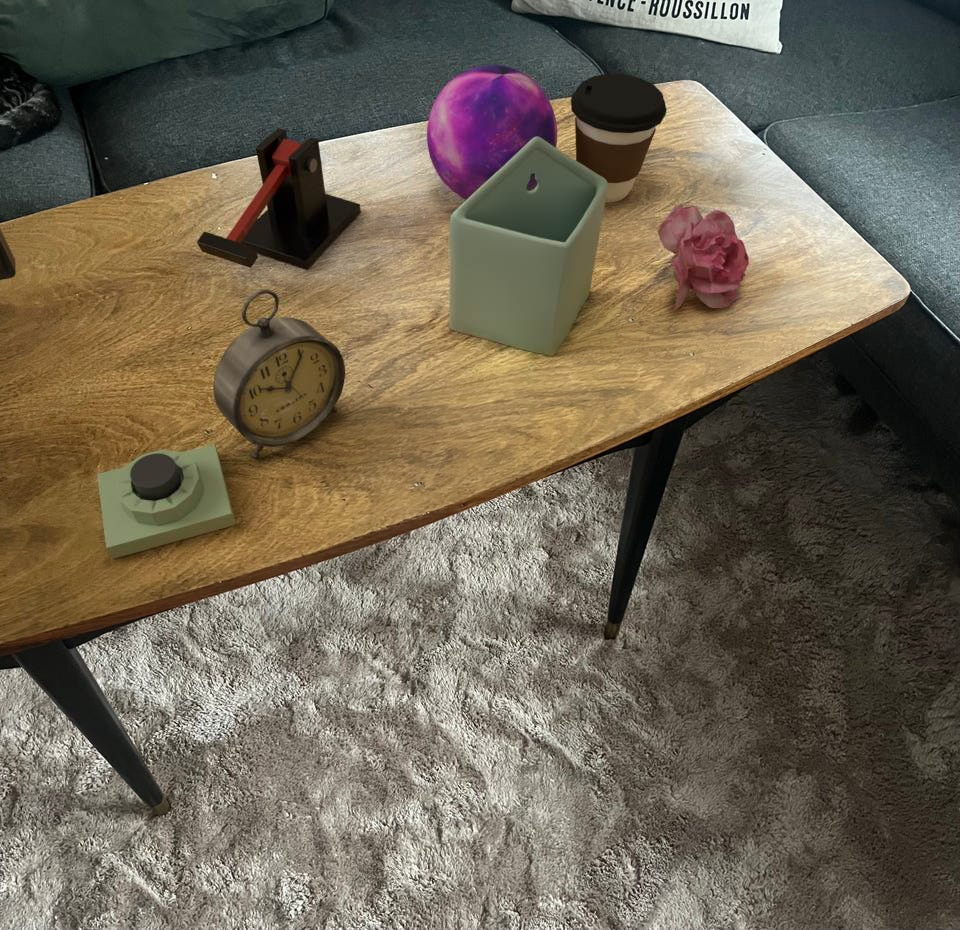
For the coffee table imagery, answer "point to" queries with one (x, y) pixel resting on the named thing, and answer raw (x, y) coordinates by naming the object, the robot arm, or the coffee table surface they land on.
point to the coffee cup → (616, 127)
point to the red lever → (250, 214)
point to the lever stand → (298, 207)
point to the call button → (155, 476)
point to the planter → (526, 250)
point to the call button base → (165, 504)
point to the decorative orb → (486, 125)
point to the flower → (704, 255)
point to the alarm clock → (278, 379)
